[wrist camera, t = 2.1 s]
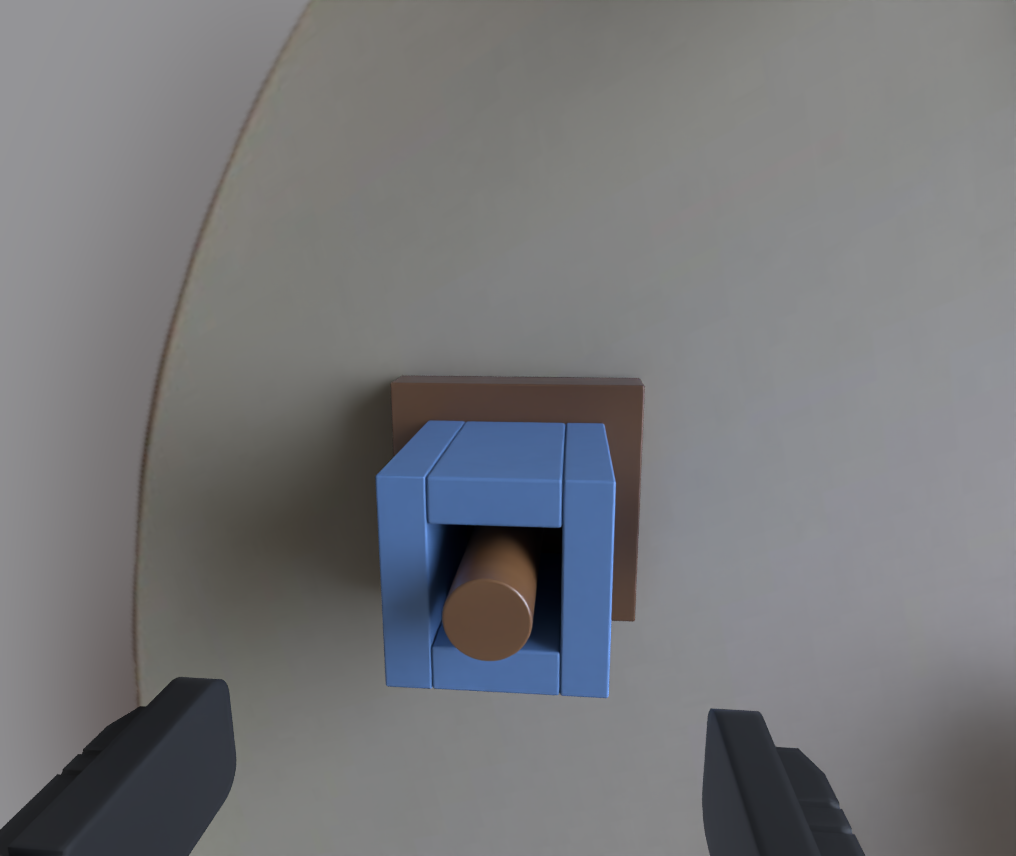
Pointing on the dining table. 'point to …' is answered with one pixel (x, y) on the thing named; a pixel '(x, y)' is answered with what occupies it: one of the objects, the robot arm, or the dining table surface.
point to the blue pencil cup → (499, 502)
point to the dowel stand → (516, 550)
